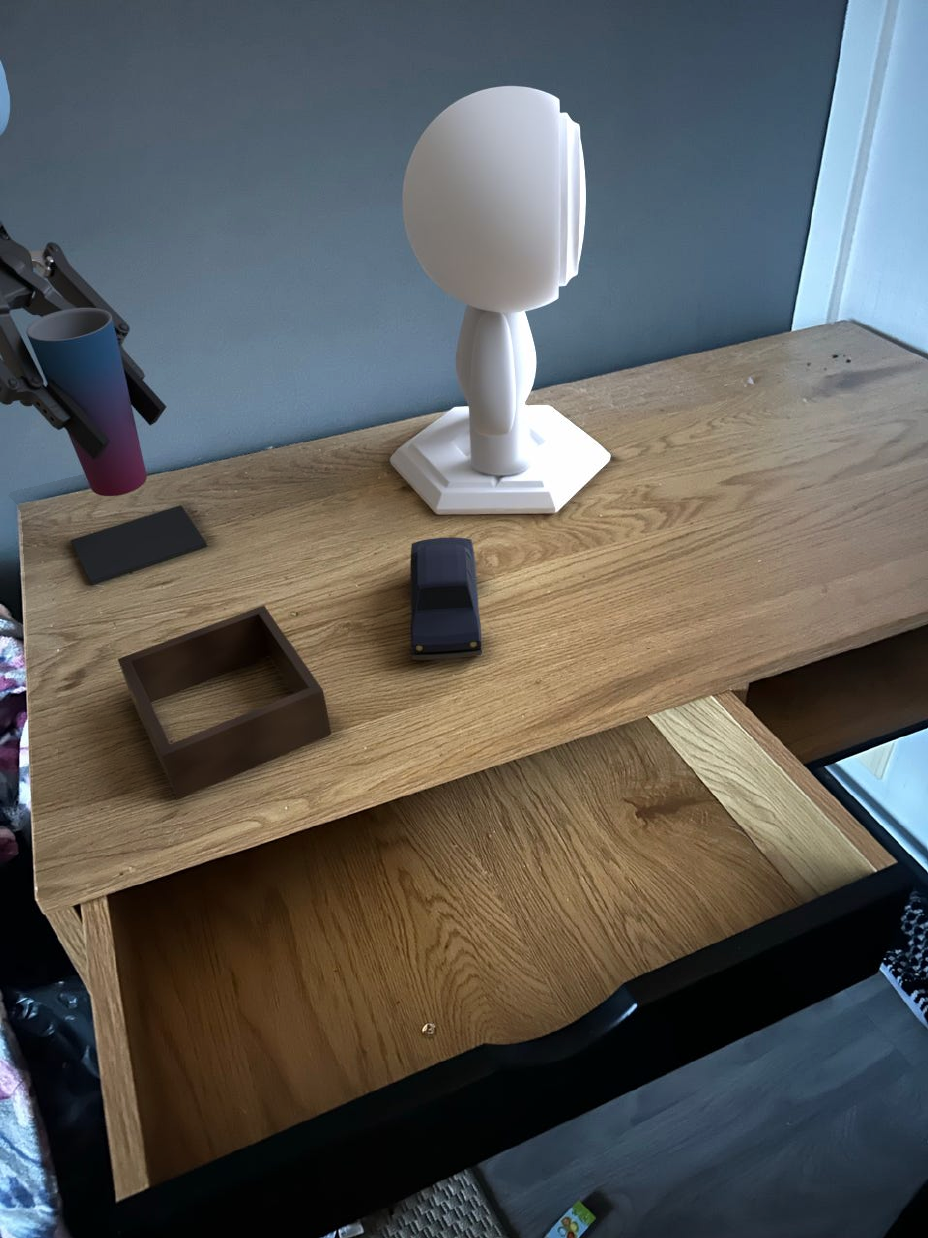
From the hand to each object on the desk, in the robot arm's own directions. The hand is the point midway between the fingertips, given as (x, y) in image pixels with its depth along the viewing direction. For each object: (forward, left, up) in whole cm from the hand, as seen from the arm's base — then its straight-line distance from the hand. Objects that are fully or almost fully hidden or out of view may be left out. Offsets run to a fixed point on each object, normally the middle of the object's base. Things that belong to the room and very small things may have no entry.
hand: (130, 432), depth 84 cm
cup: (-2, +3, -6) cm, 7 cm away
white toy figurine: (+35, -3, -13) cm, 37 cm away
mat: (-2, +3, -13) cm, 13 cm away
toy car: (+18, -22, -13) cm, 31 cm away
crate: (-2, -24, -13) cm, 28 cm away
